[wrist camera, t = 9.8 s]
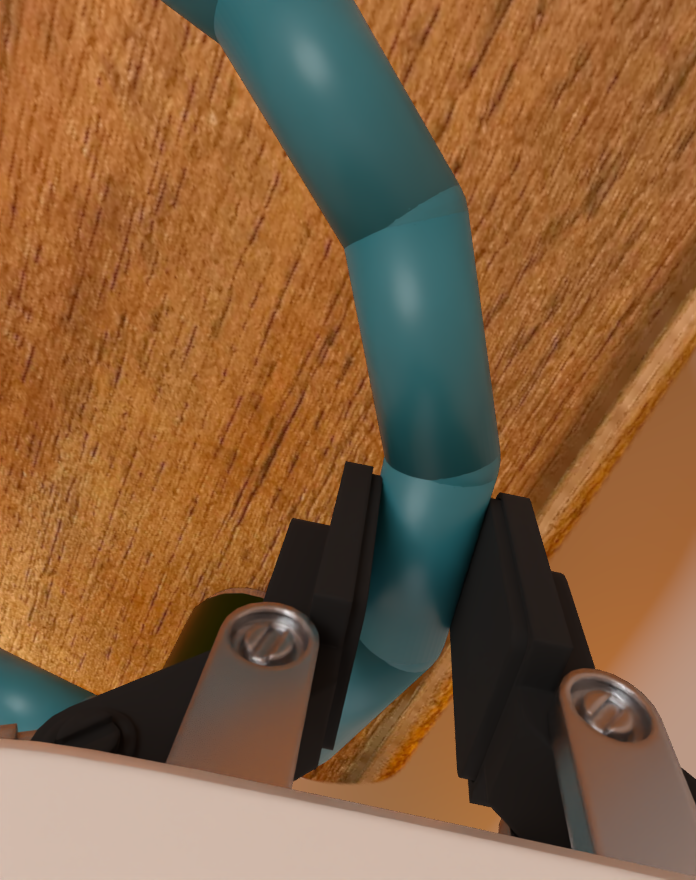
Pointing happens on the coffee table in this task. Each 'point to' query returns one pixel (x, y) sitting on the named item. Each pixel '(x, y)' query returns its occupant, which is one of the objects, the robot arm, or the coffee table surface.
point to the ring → (368, 329)
